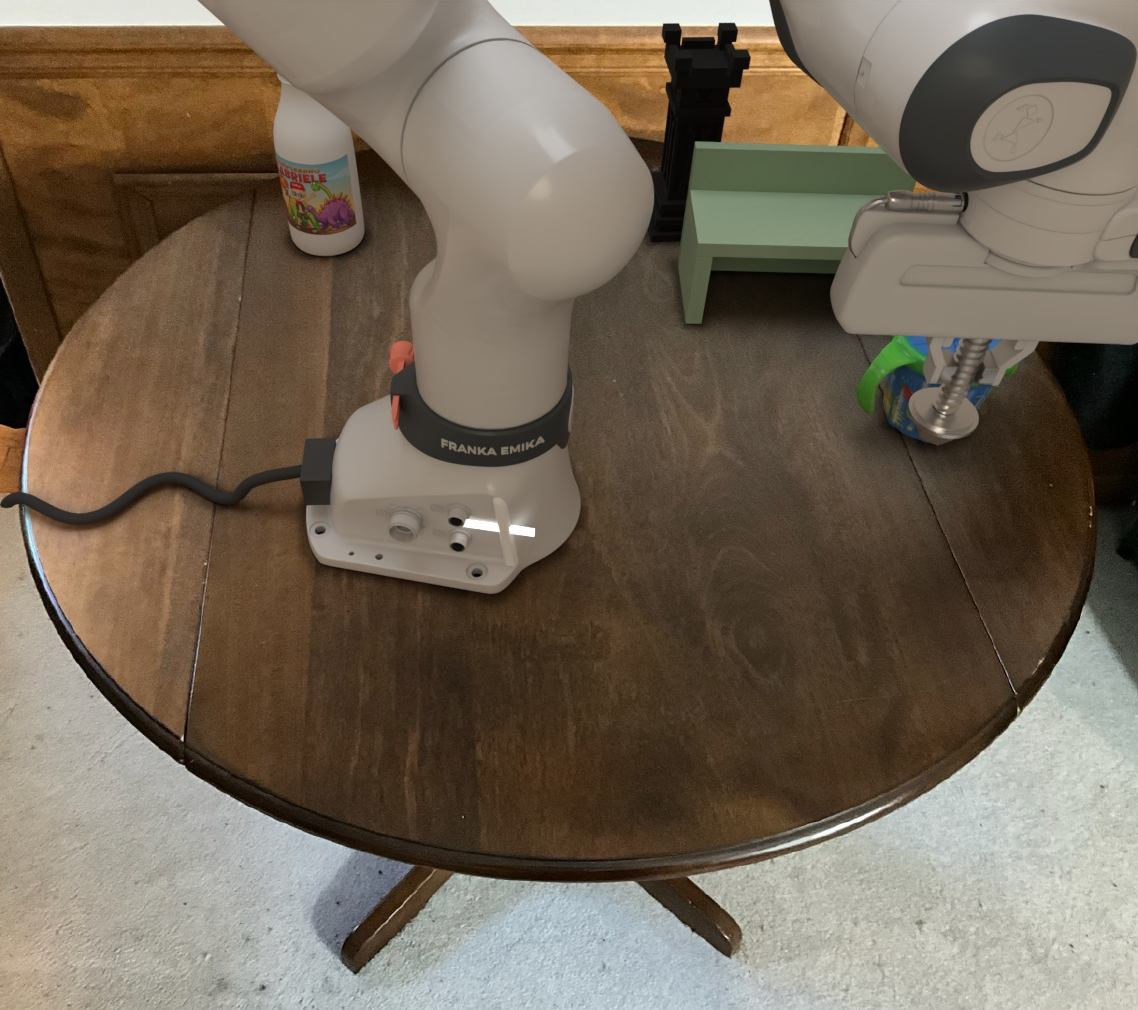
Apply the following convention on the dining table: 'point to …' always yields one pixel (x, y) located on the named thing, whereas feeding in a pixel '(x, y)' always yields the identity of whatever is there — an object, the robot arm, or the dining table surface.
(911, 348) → the snack cup
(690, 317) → the shelf
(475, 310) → the robot arm
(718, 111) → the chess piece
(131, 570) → the dining table surface
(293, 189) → the milk bottle
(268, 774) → the dining table surface
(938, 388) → the screw
